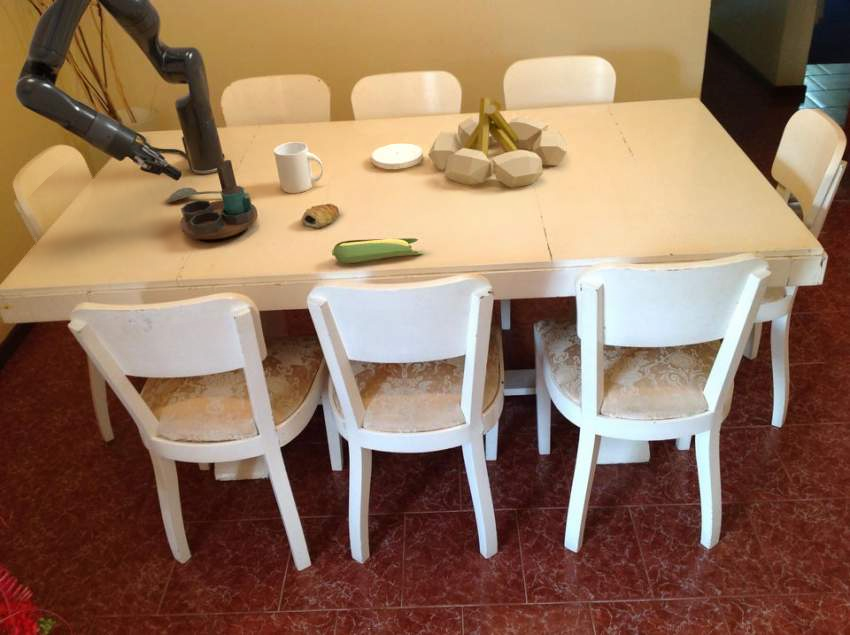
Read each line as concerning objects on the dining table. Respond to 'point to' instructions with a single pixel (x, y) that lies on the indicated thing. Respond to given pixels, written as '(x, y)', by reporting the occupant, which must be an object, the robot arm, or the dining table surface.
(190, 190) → the soupspoon
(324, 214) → the pastry
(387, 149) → the plastic lid
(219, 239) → the carousel base
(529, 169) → the campfire
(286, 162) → the mug
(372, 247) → the edible corn
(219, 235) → the cup holder
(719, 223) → the dining table surface
